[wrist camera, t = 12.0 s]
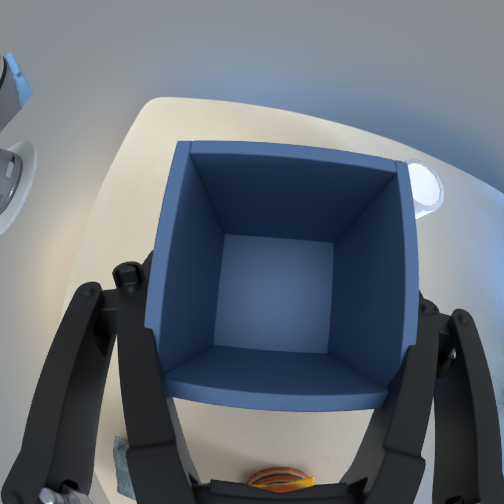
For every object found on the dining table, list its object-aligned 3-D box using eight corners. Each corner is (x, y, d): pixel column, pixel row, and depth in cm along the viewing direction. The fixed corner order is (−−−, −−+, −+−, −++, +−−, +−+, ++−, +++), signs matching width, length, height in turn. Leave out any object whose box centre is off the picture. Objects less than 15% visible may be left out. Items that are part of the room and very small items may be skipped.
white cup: (418, 234, 32) (446, 217, 25) (375, 222, 32) (398, 202, 26) (417, 190, 33) (441, 168, 27) (377, 177, 34) (397, 151, 27)
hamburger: (249, 513, 24) (246, 541, 17) (238, 468, 26) (233, 496, 20) (316, 505, 24) (323, 532, 17) (311, 459, 26) (321, 485, 20)
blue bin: (205, 350, 18) (139, 390, 7) (219, 228, 20) (177, 140, 9) (332, 360, 18) (407, 405, 7) (339, 237, 20) (407, 162, 9)
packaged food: (181, 446, 27) (169, 463, 22) (181, 504, 24) (172, 523, 19) (122, 429, 27) (104, 441, 23) (127, 487, 25) (113, 502, 20)
